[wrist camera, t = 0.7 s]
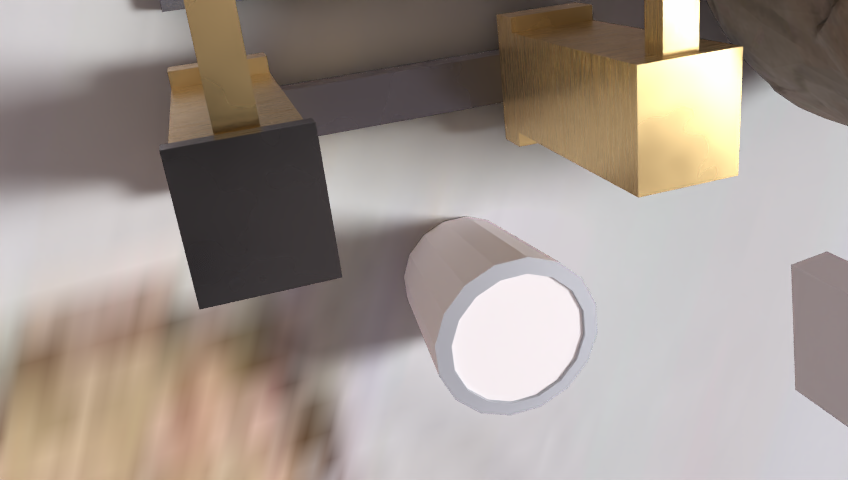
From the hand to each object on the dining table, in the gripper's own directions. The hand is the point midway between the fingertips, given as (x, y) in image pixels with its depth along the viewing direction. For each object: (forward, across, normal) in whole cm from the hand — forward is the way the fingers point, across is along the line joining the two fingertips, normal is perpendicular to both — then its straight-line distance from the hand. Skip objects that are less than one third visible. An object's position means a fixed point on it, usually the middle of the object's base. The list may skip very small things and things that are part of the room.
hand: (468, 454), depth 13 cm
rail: (+22, +5, +1) cm, 22 cm away
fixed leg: (+20, +11, +4) cm, 23 cm away
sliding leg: (+20, -2, +6) cm, 21 cm away
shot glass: (+22, +6, -8) cm, 24 cm away
